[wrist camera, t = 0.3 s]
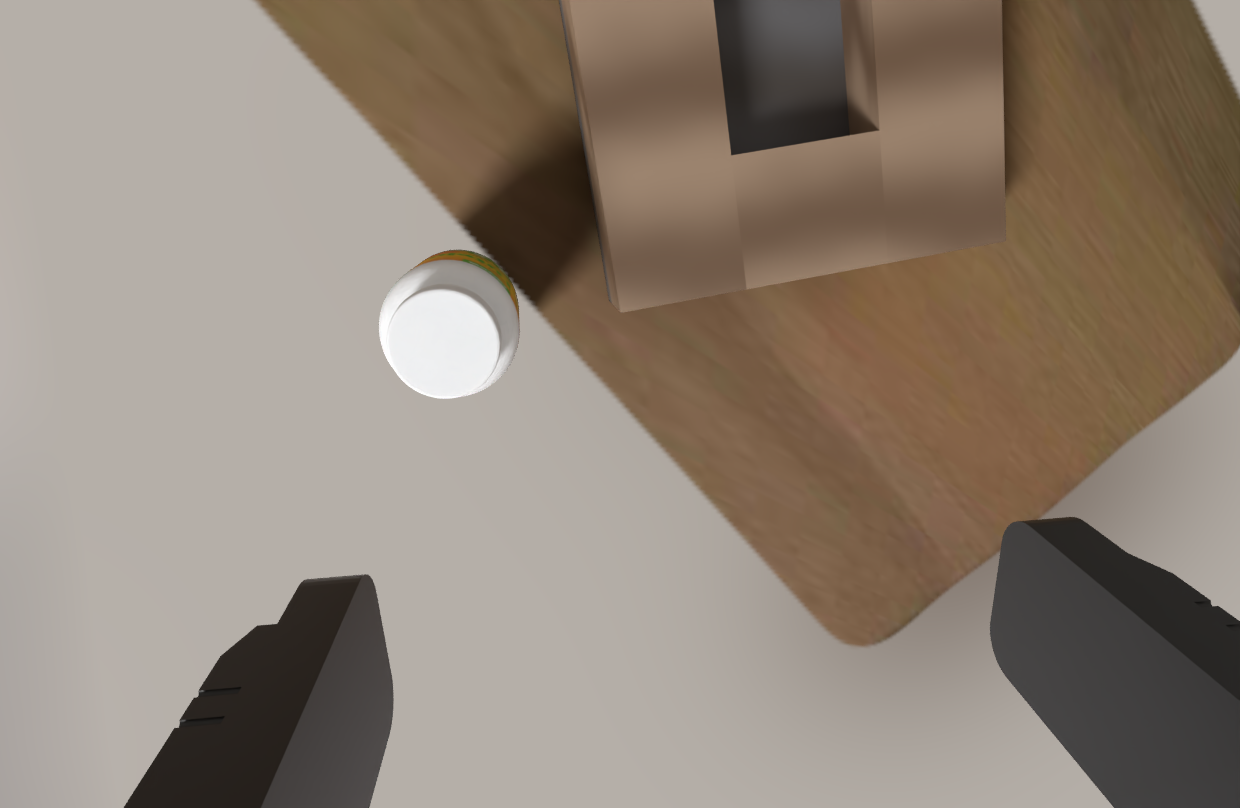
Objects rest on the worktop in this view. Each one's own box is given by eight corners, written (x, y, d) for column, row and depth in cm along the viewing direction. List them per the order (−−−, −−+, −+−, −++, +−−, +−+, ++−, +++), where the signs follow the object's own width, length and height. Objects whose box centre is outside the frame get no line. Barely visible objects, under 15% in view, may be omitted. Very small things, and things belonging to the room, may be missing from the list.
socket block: (538, -123, 32) (542, -166, 28) (942, -176, 33) (997, -224, 30) (609, 300, 37) (620, 312, 33) (956, 236, 38) (1006, 240, 35)
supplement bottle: (529, 264, 36) (536, 288, 27) (505, 372, 37) (503, 431, 28) (414, 236, 35) (379, 250, 26) (393, 348, 36) (352, 401, 27)
